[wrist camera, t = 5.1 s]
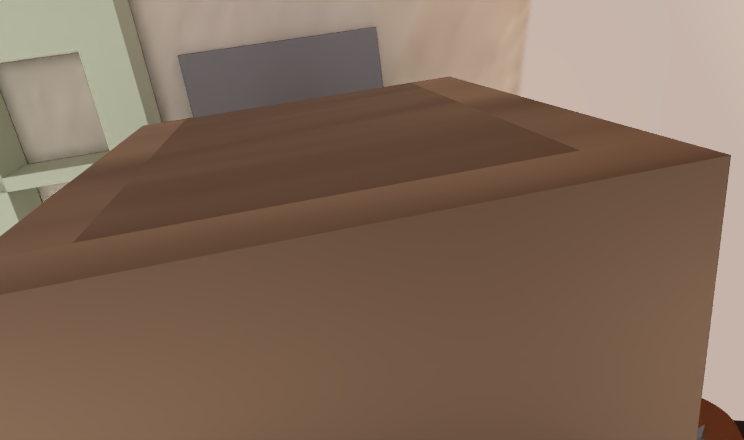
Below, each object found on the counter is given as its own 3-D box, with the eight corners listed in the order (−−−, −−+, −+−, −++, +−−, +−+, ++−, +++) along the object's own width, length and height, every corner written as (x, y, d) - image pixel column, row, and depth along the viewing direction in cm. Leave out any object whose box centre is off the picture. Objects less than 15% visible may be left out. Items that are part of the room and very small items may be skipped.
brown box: (142, 125, 10) (-102, 314, 3) (449, 76, 11) (731, 154, 4) (255, 510, 14) (241, 956, 7) (477, 454, 14) (651, 812, 8)
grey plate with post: (178, 55, 24) (160, 59, 20) (374, 27, 25) (394, 26, 21) (238, 290, 28) (232, 333, 24) (402, 257, 29) (423, 293, 25)
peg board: (-79, 12, 21) (-122, 10, 19) (124, -13, 22) (107, -18, 20) (42, 311, 26) (20, 338, 24) (204, 279, 27) (198, 302, 25)
